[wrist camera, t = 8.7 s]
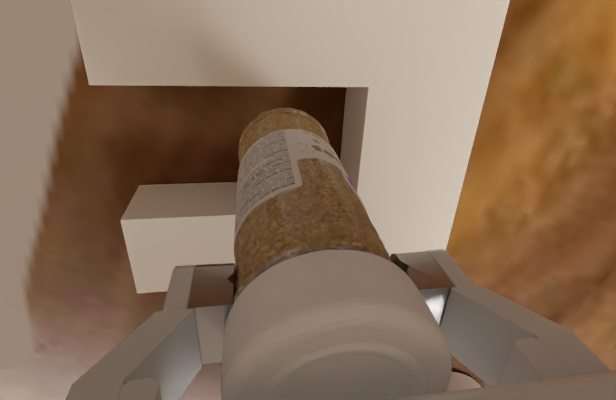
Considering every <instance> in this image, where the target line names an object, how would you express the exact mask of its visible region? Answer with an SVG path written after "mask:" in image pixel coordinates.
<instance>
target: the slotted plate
mask: <svg viewBox="0 0 616 400" xmlns="http://www.w3.org/2000/svg"><path fill="white" fill-rule="evenodd" d="M509 2H510V0H70V4H71V8H72V12H73V17H74V21H75V25H76V30H77V34H78V38H79V43H80V47H81V51H82V56H83V60H84V65H85V69H86V73H87V78H88V82H89V85H127V86H265V87H346V96H345V108H344V120H343V132H342V144H341V156H340V162H341V164H342V166H343V168H344V170H345V171H346V173H347V175H348V176H349V178H350V180H351V182H352V184H353V186H354V188H355V190H356V191H357V193H358V195H359V197H360V199H361V201H362V203H363V205H364V207H365V209H366V211H367V213H368V216H369V219H370V221H371V223H372V224H373V226H374V227H375V229H376V231H377V233H378V235H379V238H380V239H381V241H382V242H383V244H384V247H385V249H386V250H387V252H388V254H389V256H391V254H392V253H407V252H422V251H427V250H438V249H443V250H445V251H446V247H447V243H448V240H449V236H450V232H451V228H452V224H453V220H454V216H455V212H456V208H457V204H458V201H459V197H460V193H461V189H462V185H463V181H464V177H465V173H466V169H467V165H468V162H469V158H470V154H471V150H472V146H473V142H474V138H475V134H476V130H477V126H478V123H479V119H480V115H481V111H482V107H483V103H484V99H485V95H486V91H487V87H488V83H489V80H490V76H491V72H492V68H493V64H494V60H495V56H496V52H497V48H498V44H499V41H500V37H501V33H502V29H503V25H504V21H505V17H506V13H507V9H508V5H509ZM236 197H237V182H218V183H186V184H154V185H139V187H138V189H137V190H136V192H135V194H134V196H133V198H132V199H131V201H130V203H129V205H128V207H127V209H126V210H125V212H124V214H123V216H122V218H121V220H120V221H121V225H122V230H123V234H124V239H125V243H126V247H127V252H128V256H129V260H130V265H131V269H132V273H133V278H134V282H135V286H136V291H137V293H151V292H164V291H168V287H169V283H170V279H171V276H172V272H173V269H174V268H175V266H185V265H195V266H196V265H204V264H227V263H235V257H234V234H235V215H236Z"/></svg>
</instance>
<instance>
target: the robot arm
mask: <svg viewBox="0 0 616 400" xmlns="http://www.w3.org/2000/svg"><path fill="white" fill-rule="evenodd" d="M390 258H391V260H392V262H393V263H394V264H396V265H397V266H398V267H399V268H400V269H402V270H403V271H404V272H405V273H406V274H407V275H408V276H409V277H410V279H411V280H412V281H413V282H414V284H415V285H416V287H417V288H418V290H419V292H420V293H421V295H422V297H423V298H424V300H425V302H426V304H427V305H428V307H429V309H430V311H431V312H432V314H433V316H434V318H435V320H436V321H437V323H438V325H439V327H440V329H441V331H442V332H443V334H444V336H445V338H446V341H447V343H448V346H449V349H450V353H451V355H452V356H453V357H455V358H456V359H457V360H458V361H459V362H461V363H462V364H463V365H464V366H465V367H467V368H468V369H469V370H470V371H472V372H473V373H474V374H475V375H476V376H478V377H479V378H480V379H481V380H483V381H484V382H485V383H486V384H487V385H489V387H481V386H480V385H479V384H478V382H477V381H475V380H474V379H473V378H471V377H469V376H467V375H464V374H461V373H457V372H451V378H450V382H449V386H448V388H447V390H446V392H441V393H433V394H425V395H417V396H409V397H401V398H393V399H386V400H616V371H611V370H610V369H609V368H608V367H607V366H606V365H605V364H604V363H603V362H602V361H601V360H600V359H599V358H598V357H597V356H596V355H595V354H594V353H593V352H592V351H591V350H590V349H589V348H588V347H587V346H586V345H585V344H584V343H583V342H582V341H581V340H580V339H579V338H578V337H577V336H576V335H575V334H574V333H573V332H572V331H570V330H568V329H566V328H564V327H562V326H560V325H558V324H556V323H554V322H552V321H550V320H548V319H546V318H544V317H542V316H540V315H538V314H536V313H534V312H532V311H530V310H528V309H526V308H524V307H522V306H520V305H518V304H516V303H514V302H512V301H510V300H508V299H506V298H504V297H502V296H500V295H498V294H496V293H494V292H492V291H490V290H488V289H486V288H484V287H482V286H475V285H474V284H473V283H472V281H471V280H470V279H469V278H468V276H467V275H466V274H465V273H464V272H463V270H462V269H461V268H460V267H459V265H458V264H457V263H456V262H455V261H454V259H453V258H452V257H451V256H450V255H449V253H448V252H447V251H445V250H443V249H438V250H427V251H422V252H407V253H392V254H391V256H390ZM234 288H235V263H227V264H204V265H196V266H195V265H185V266H175V268H174V269H173V272H172V276H171V279H170V283H169V287H168V291H167V295H166V299H165V303H164V307H163V311H157V312H155V313H154V314H153V315H152V316H150V317H149V318H148V319H147V320H146V321H145V322H144V323H142V324H141V325H140V326H139V327H138V328H137V329H136V330H134V331H133V332H132V333H131V334H130V335H129V336H127V337H126V338H125V339H124V340H123V341H122V342H121V343H119V344H118V345H117V346H116V347H115V348H114V349H112V350H111V351H110V352H109V353H108V354H107V355H106V356H104V357H103V358H102V359H101V360H100V361H99V362H97V363H96V364H95V365H94V366H93V367H92V368H91V369H89V370H88V371H87V372H86V373H85V374H84V375H82V376H81V377H80V378H79V379H78V380H77V381H76V382H74V383H73V384H72V386H71V388H70V391H69V393H68V395H67V397H66V400H179V399H180V397H181V396H182V395H183V393H184V392H185V390H186V389H187V387H188V386H189V385H190V383H191V382H192V380H193V379H194V377H195V376H196V375H197V373H198V372H199V370H200V369H201V367H202V365H204V364H212V363H220V362H222V353H223V341H224V330H225V324H226V320H227V317H228V314H229V312H230V310H231V308H232V306H233V300H234Z"/></svg>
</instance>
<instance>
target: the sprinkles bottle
mask: <svg viewBox="0 0 616 400" xmlns="http://www.w3.org/2000/svg"><path fill="white" fill-rule="evenodd" d="M238 157H239V163H240V167H239V171H238V180H237V197H236V215H235V234H234V257H235V288H234V300H233V306H232V308H231V310H230V312H229V314H228V317H227V320H226V324H225V330H224V341H223V353H222V378H221V400H386V399H393V398H401V397H409V396H417V395H425V394H433V393H441V392H446V390H447V388H448V386H449V382H450V378H451V372H452V360H451V353H450V349H449V346H448V343H447V341H446V338H445V336H444V334H443V332H442V331H441V329H440V327H439V325H438V323H437V321H436V320H435V318H434V316H433V314H432V312H431V311H430V309H429V307H428V305H427V304H426V302H425V300H424V298H423V297H422V295H421V293H420V292H419V290H418V288H417V287H416V285H415V284H414V282H413V281H412V280H411V279H410V277H409V276H408V275H407V274H406V273H405V272H404V271H403V270H402V269H400V268H399V267H398V266H397V265H396V264H394V263H393V262H392V260H391V258H390V256H389V254H388V252H387V250H386V249H385V247H384V244H383V242H382V241H381V239H380V238H379V235H378V233H377V231H376V229H375V227H374V226H373V224H372V223H371V221H370V219H369V216H368V213H367V211H366V209H365V207H364V205H363V203H362V201H361V199H360V197H359V195H358V193H357V191H356V190H355V188H354V186H353V184H352V182H351V180H350V178H349V176H348V175H347V173H346V171H345V170H344V168H343V166H342V164H341V162H340V160H339V158H338V156H337V154H336V153H335V151H334V150H333V148H332V147H331V146H330V143H329V140H328V138H327V134H326V132H325V130H324V129H323V127H322V126H321V124H320V123H319V122H318V121H317V120H316V119H315V118H313V117H312V116H310V115H309V114H307V113H306V112H304V111H302V110H298V109H293V108H276V109H272V110H269V111H266V112H263V113H260V114H259V115H258V116H257V117H256V118H255V119H253V120H252V121H251V122H250V123H249V124H248V125H247V127H246V128H245V129H244V131H243V133H242V135H241V138H240V140H239V149H238Z"/></svg>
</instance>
